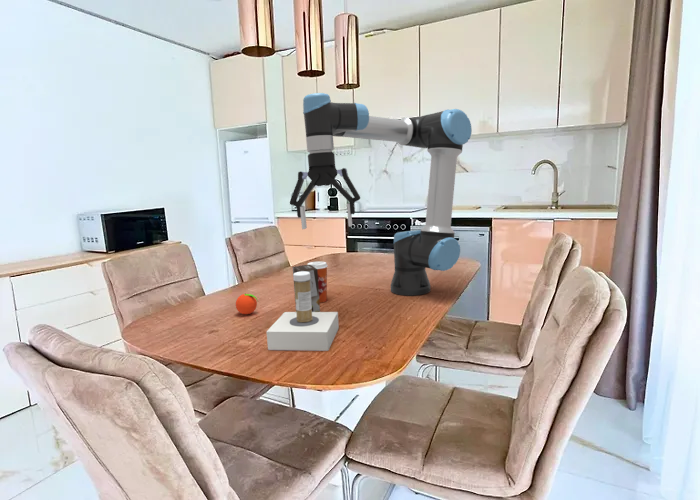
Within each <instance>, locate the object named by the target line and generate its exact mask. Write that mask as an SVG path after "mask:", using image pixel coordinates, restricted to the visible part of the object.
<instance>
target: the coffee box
mask: <svg viewBox="0 0 700 500" xmlns="http://www.w3.org/2000/svg"><path fill="white" fill-rule="evenodd" d="M301 271H306V272H310V278H311V279H310V289H311V301H312V312H321V307H320V306H321V303H320V301H319V285H318V269H316V268H315V267H313V266H312V265H307V264H303V265H298V266H296V265H295V266H292V275H293V274H294V273H296V272H301ZM293 289H294V290H293V291H294V292H293V293H295V282H294V281H293ZM294 304H295V306H296V302H295V301H294Z"/></svg>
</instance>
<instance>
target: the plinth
mask: <svg viewBox="0 0 700 500" xmlns="http://www.w3.org/2000/svg"><path fill="white" fill-rule="evenodd" d="M312 317H313V319H312V320H311V321H309V322H298V321H297V320H296V319H297V313H296V311H285V312H283V313H282V314H281V315H280V316H279V317H278V319H277V320H275V322H274V323H273V324H272V325H270V327H269V328H268V329H267V330H266V341H267V344H266V345H267V350H268V351H310V352H311V351H315V352H316V351H318V352H319V351H321V352H322V351H323V352H326V351H329V350H330V348H331V345H332V343H333V341H334V339H335V337H336V335H337V333H338V331H339V328H340V327H339V311H320V312H312Z"/></svg>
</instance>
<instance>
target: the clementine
mask: <svg viewBox="0 0 700 500" xmlns="http://www.w3.org/2000/svg"><path fill="white" fill-rule="evenodd" d="M258 302H259V301H258V298H257V296H255V295H253V294H251V293H242V294H241V295H239V296H238V297H237V299H236V300H235V308H236V310H237V311H238V313H240V314H242V315H250V314H252V313H254V312H255V311H256V309H257V307H258Z"/></svg>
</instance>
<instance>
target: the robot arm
mask: <svg viewBox="0 0 700 500" xmlns="http://www.w3.org/2000/svg"><path fill="white" fill-rule="evenodd" d="M302 101H303V102H302V108H303V110H302V111H303V112H302V113H303V117H304V127H305V129H304V130H305V140H306V151H307V152H308V155H307V162H308V164H307V165H308V171H298V173H297V181H296V184H295V187H294V189H293V192H292V195H291V197H290V200H289V205H291V206H295V208H296V213H297V214H296V215H297V218H298V219H299V218H300V221H301V229H302V230H305V229H307V217H306V216H307V215H306V205H303V204H304V202H306V200H307V198H308V197H309V195H310V194H311V193H312V191H313V190H314V188H315V187H323V186H324V187H327V186H331V185H332V186H333V187H334V188H335V189H336V190H337V191H338V192H339V193H340V194H341V195H342V196H343V197H344V198H345V199H346V200H347V201H348V202H347V203H346V211H347V223H348V224H347V225H348V227H349V228H350V227H351V228H352V226H353V219H352V218H353V217H352V215H355V213H356V206H355V203H356V202H358V201H359V200H360V199H361V195H360V194H359V192H358V191H357V189H356V187H355V185H354V184H353V182H352V180H351V179H350V177H349V174H348V169H347V168H346V167H343V168H339V169H337V168H336V159H335V158H336V157H335V153H334V152H333V151H334V150H335V146H334V137H343V138H352V139H361V140H362V139H363V140H373V141H374V140H375V141H385V142H393V143H397V144H398V145H399V146H407V147H415V148H421V149H427V152H428V153H429V155H430V156H431V157H430V158H431V159H430V169H429V179H428V180H429V181H428V191H427V202H426V204H427V205H426V215H425V224H424V225H423V227H422V228H421V229H415V230H406V231H397V232H396V233H394V235H393V243H392V244H393V257H394V258H393V261H394V263H393V264H394V272H393V274H392V275H393V276H392V279H391V282H390V292H391V293H393V294H395V295H399V296H420V295H425V294H429V293H430V292H431V283H430V280H429V276H428V274H427V271H426V269H431V270H433V271H441V272H442V271H443V272H444V271H448V270H450V269H452V268H453V267H454V265H456V263H457V262H458V261H459V258H460V254H461V245H460V244H459V241H458V240H457V239H456V238H455V231H454V230H453V228H452V227H451V226H452V216H453V205H454V203H453V202H454V195H455V194H454V193H455V185H456V184H455V182H456V174H457V173H456V171H457V162H458V161H457V160H458V156H459V155H461V154H462V152H463V149H464V148H463V146H464V145H465V144H467V143H468V142H469V140H470V139H471V137H472V123H471V121H470V118H469V117H468V115H467V114H466V113H465V112H464V111H463V110H461V109H458V108H453V109H444V110H442V111H438V112H434V113H429V114H425V115H421V116H416V117H401V119H397V118H389V117H381V116H373V115H370V113H369V111H370V110H369V109H368V107H367V106H366V105H365V104H363V103H356V102H352V103H351V102H331V97H330V94H328V93H323V92H315V93H314V92H313V93H310V94H307V95H305V96H304V97H303V99H302ZM338 175H339V176H340V177H342V178H343V180H344V183H345V184H346V185H347V187H348V189H349V190H350V192H351V194H352V195H351V194H349V192H348V191H347V190H346V189H345V188H344V187H343V186H342V185H341V184H340V183H339V181H338V180H337V179H336V177H337V176H338ZM307 177H308V178H309V179H310V182H309V183H308V185H307V187H306V189H305V190H304V191H303V193H302V194H301V195H300V192H301V190H302V187H303V184H304V182H305V180H306V179H307ZM299 195H300V197H299ZM352 196H353V197H352ZM298 198H299V199H298Z"/></svg>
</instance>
